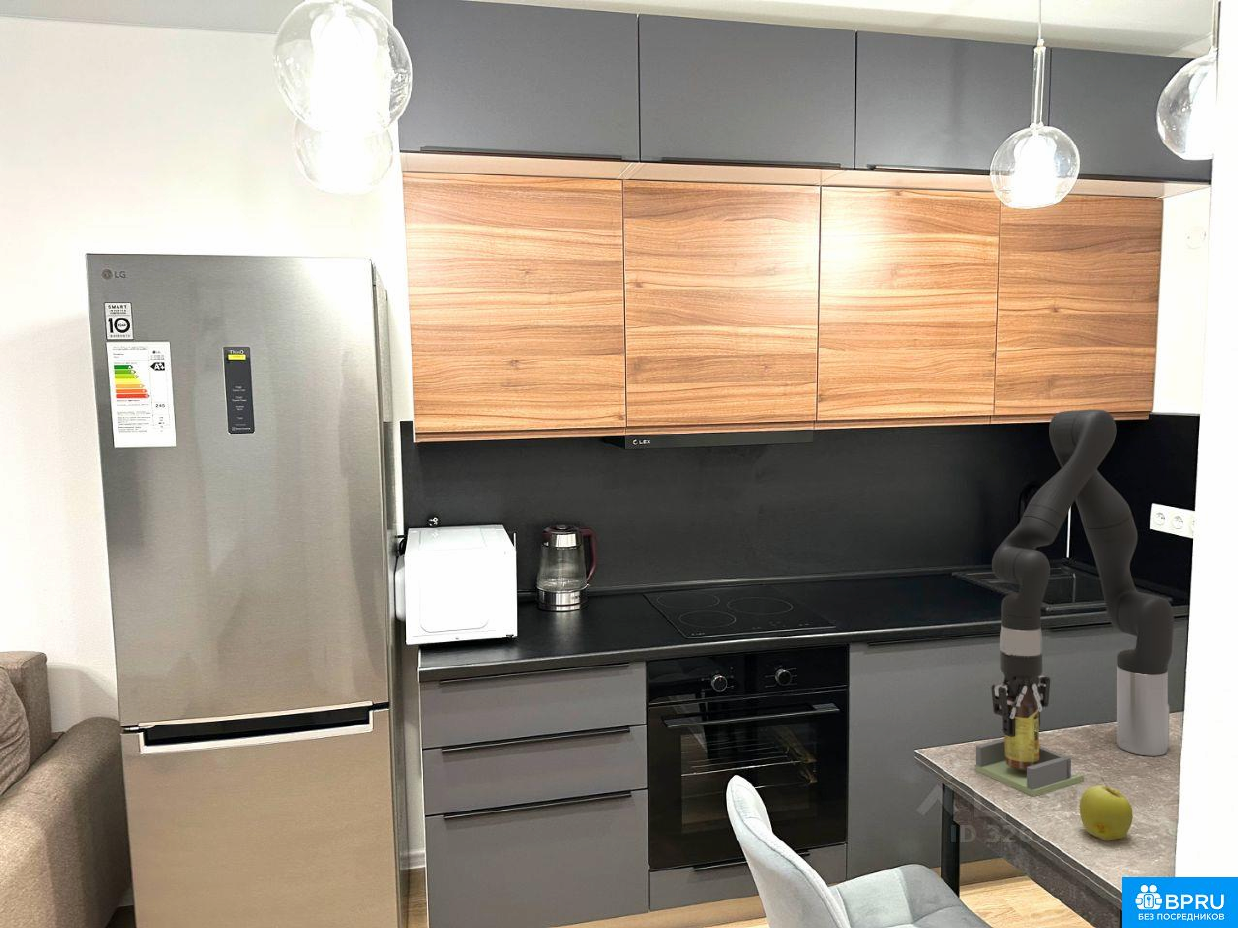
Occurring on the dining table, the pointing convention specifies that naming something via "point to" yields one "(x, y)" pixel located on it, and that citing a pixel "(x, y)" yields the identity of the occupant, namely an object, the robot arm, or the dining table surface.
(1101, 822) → the apple
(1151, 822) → the dining table surface
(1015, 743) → the sauce bottle
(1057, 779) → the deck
